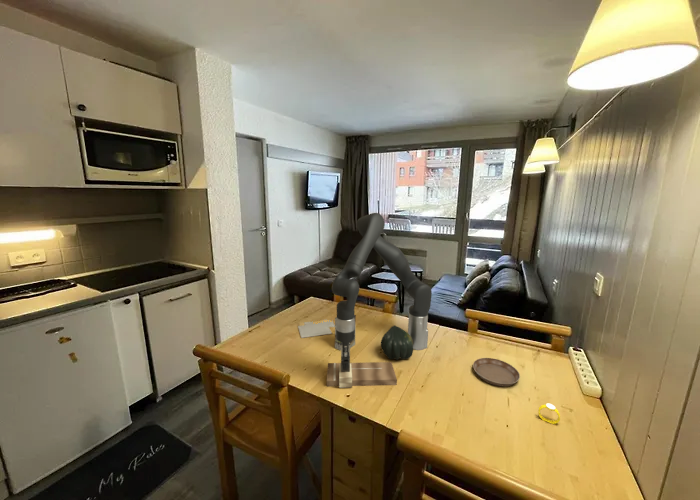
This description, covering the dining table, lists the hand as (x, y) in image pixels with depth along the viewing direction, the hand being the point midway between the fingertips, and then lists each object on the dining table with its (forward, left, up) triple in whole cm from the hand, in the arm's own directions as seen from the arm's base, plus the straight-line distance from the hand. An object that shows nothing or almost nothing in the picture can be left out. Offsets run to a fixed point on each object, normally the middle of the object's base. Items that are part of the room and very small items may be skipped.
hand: (345, 366), depth 118 cm
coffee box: (-1, -26, -6) cm, 27 cm away
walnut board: (-7, -2, -6) cm, 9 cm away
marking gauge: (0, +1, -6) cm, 6 cm away
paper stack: (+13, -49, -7) cm, 51 cm away
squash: (-25, -17, -6) cm, 31 cm away
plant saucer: (-64, -1, -7) cm, 64 cm away
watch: (-68, +24, -6) cm, 73 cm away
